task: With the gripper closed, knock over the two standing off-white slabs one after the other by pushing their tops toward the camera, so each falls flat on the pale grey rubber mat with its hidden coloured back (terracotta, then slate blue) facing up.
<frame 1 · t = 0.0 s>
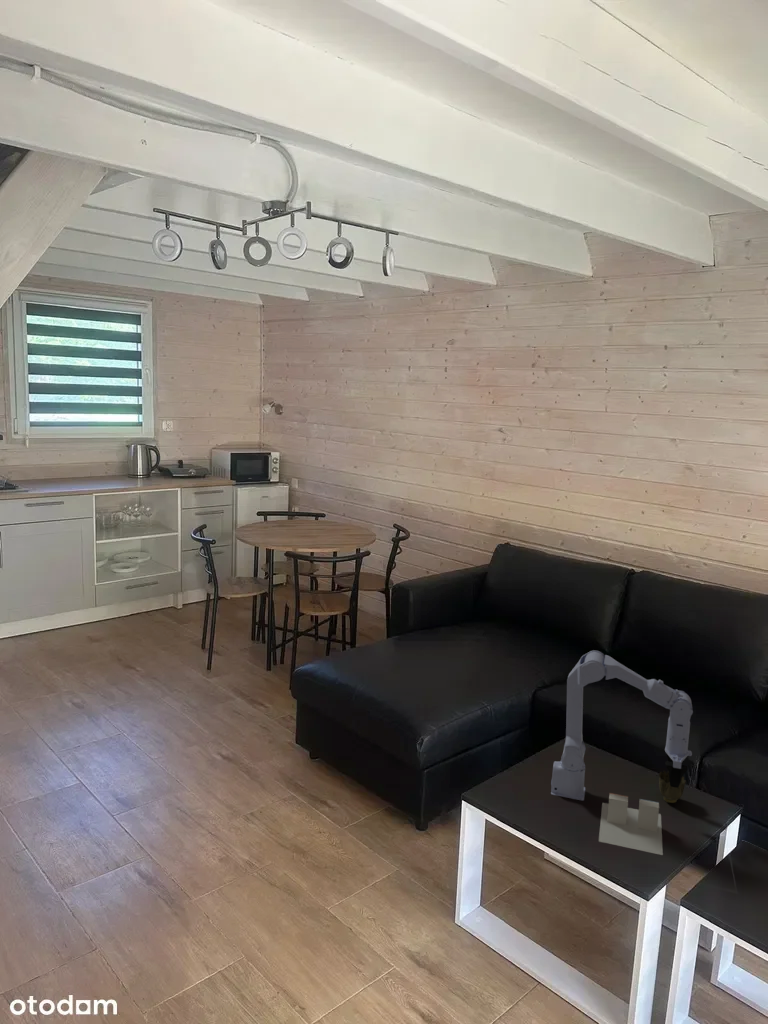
hand: (673, 780, 206), 10 cm above the table, fingers open, 7 cm apart
cup: (669, 802, 213), on the table
mat: (630, 829, 199), on the table
slab b: (647, 826, 199), point 1 cm above the table, touching mat
slab a: (616, 820, 202), point 1 cm above the table, touching mat
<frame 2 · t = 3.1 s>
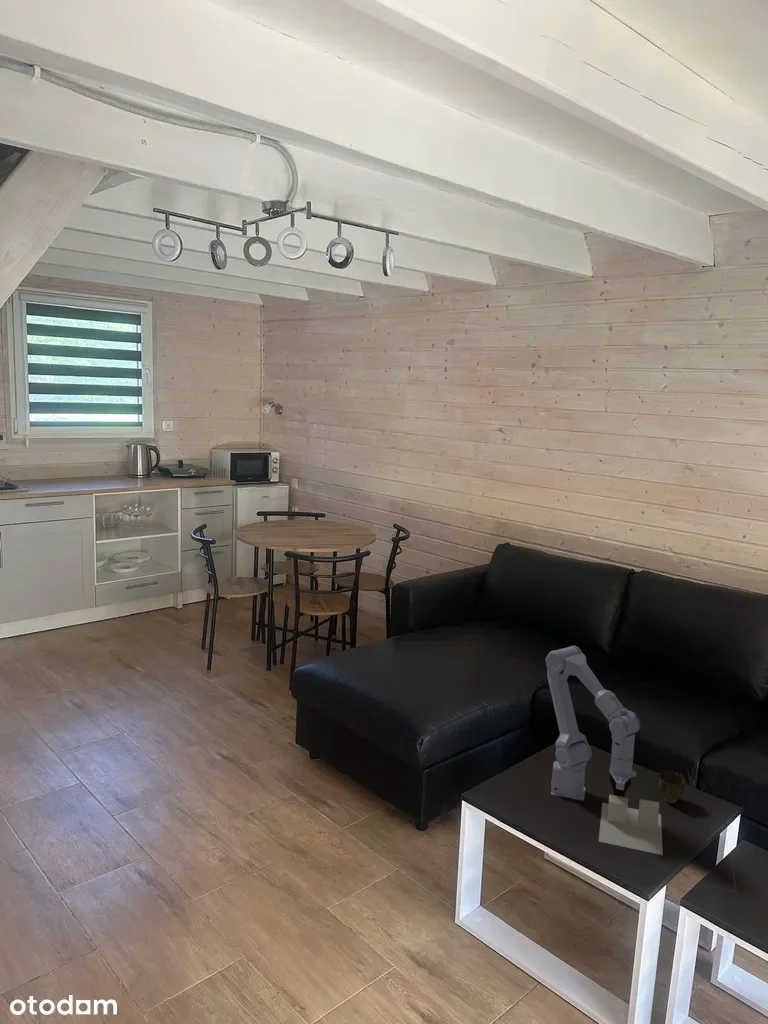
hand: (618, 800, 202), 6 cm above the table, fingers closed
slab a: (616, 819, 202), point 1 cm above the table, tilted 12°, touching mat
everything else where it was.
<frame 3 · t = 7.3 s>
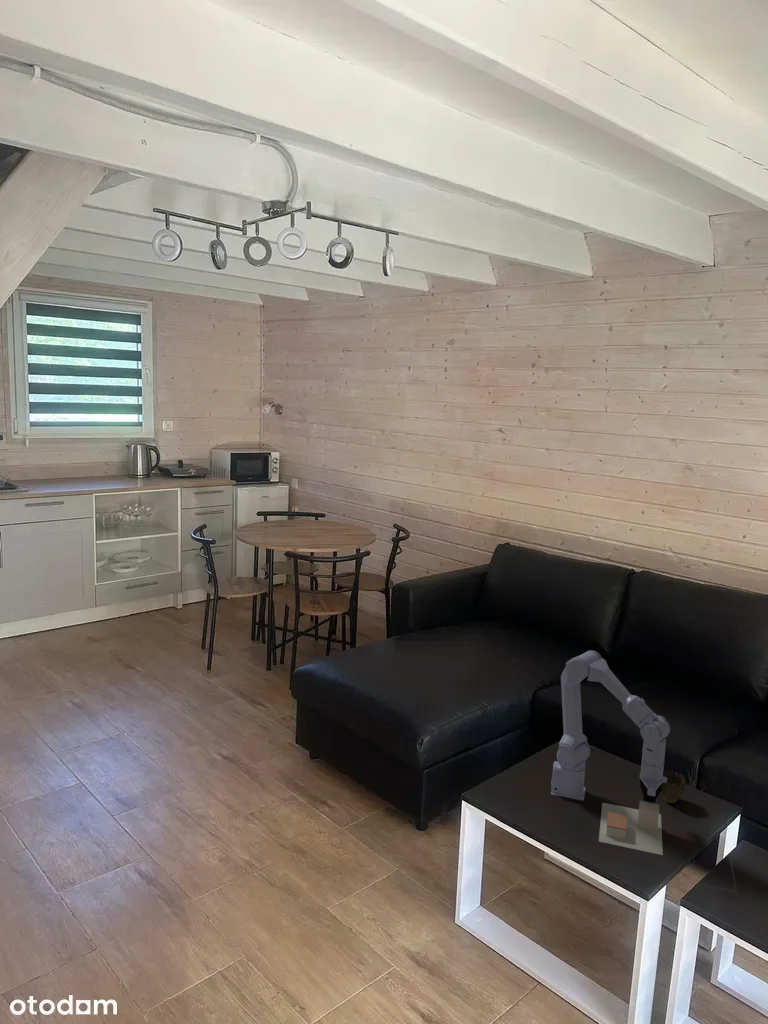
hand: (648, 807, 200), 6 cm above the table, fingers closed
slab b: (647, 825, 199), point 1 cm above the table, tilted 13°, touching mat
slab a: (617, 818, 200), point 2 cm above the table, tilted 90°, touching mat
everything else where it was.
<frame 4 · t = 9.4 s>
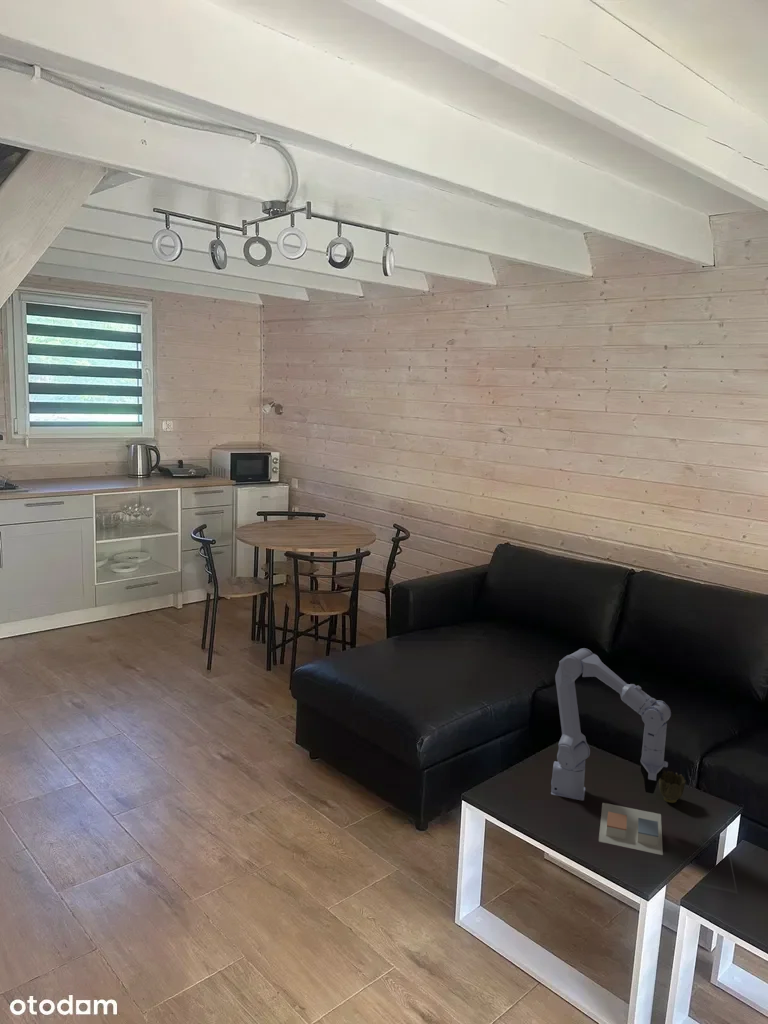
hand: (649, 791, 200), 10 cm above the table, fingers closed
slab b: (647, 824, 198), point 2 cm above the table, tilted 90°, touching mat
everything else where it was.
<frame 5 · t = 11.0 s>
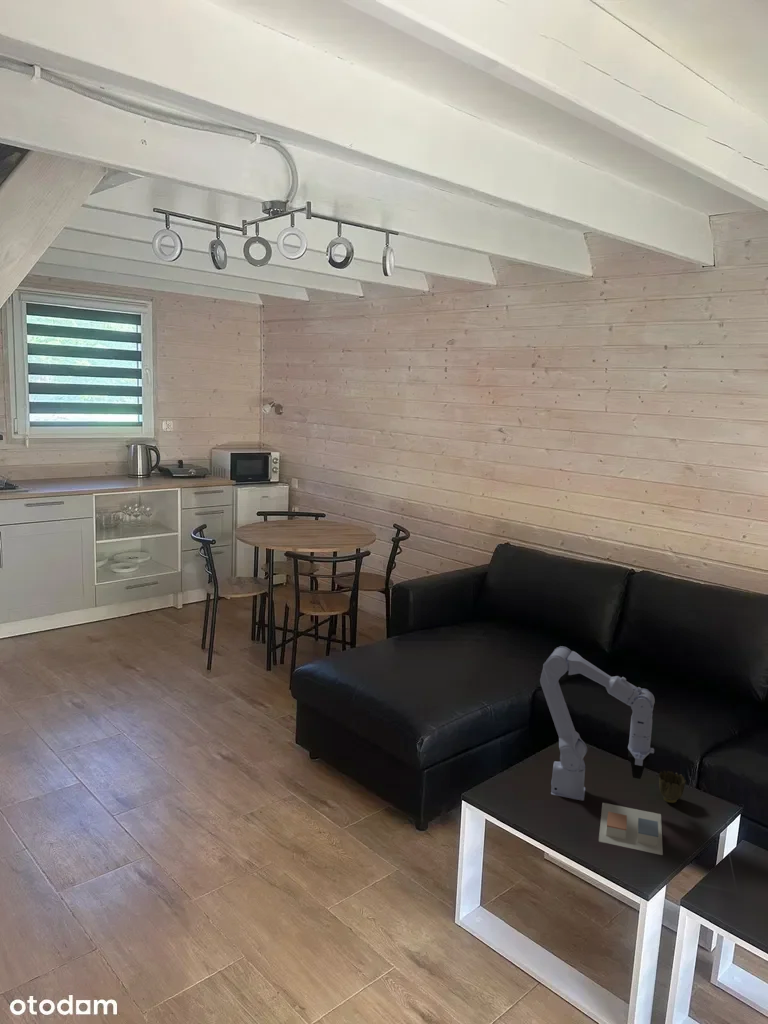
hand: (636, 777, 208), 10 cm above the table, fingers closed
nothing on the table moved.
at the end: slab a tilted 90°; slab b tilted 90°; slab b inside the target area (4.8 cm from its centre), point 2.1 cm above the table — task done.
